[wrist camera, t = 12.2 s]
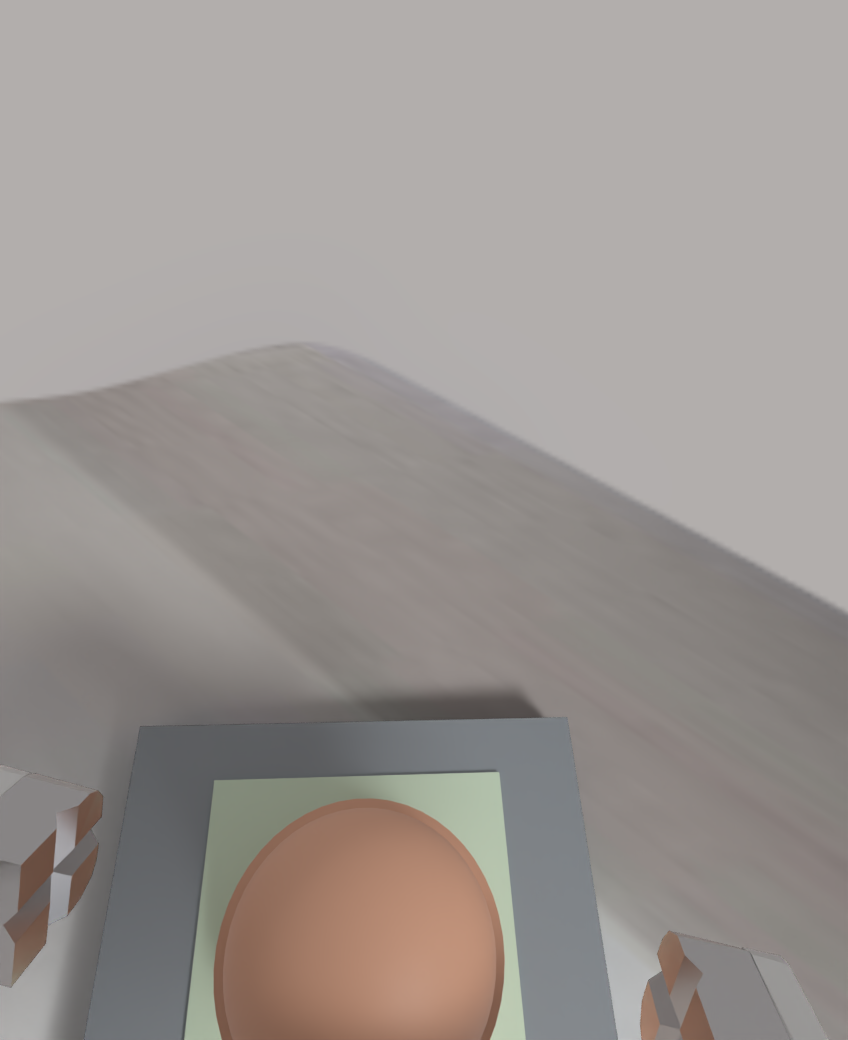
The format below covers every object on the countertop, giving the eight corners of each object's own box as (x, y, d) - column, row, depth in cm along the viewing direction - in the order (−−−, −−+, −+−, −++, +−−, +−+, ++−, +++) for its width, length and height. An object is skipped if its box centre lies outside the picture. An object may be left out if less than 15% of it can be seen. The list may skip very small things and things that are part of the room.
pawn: (443, 799, 16) (524, 669, 8) (501, 1052, 14) (695, 1211, 6) (234, 849, 15) (100, 755, 7) (255, 1129, 13) (86, 1444, 5)
